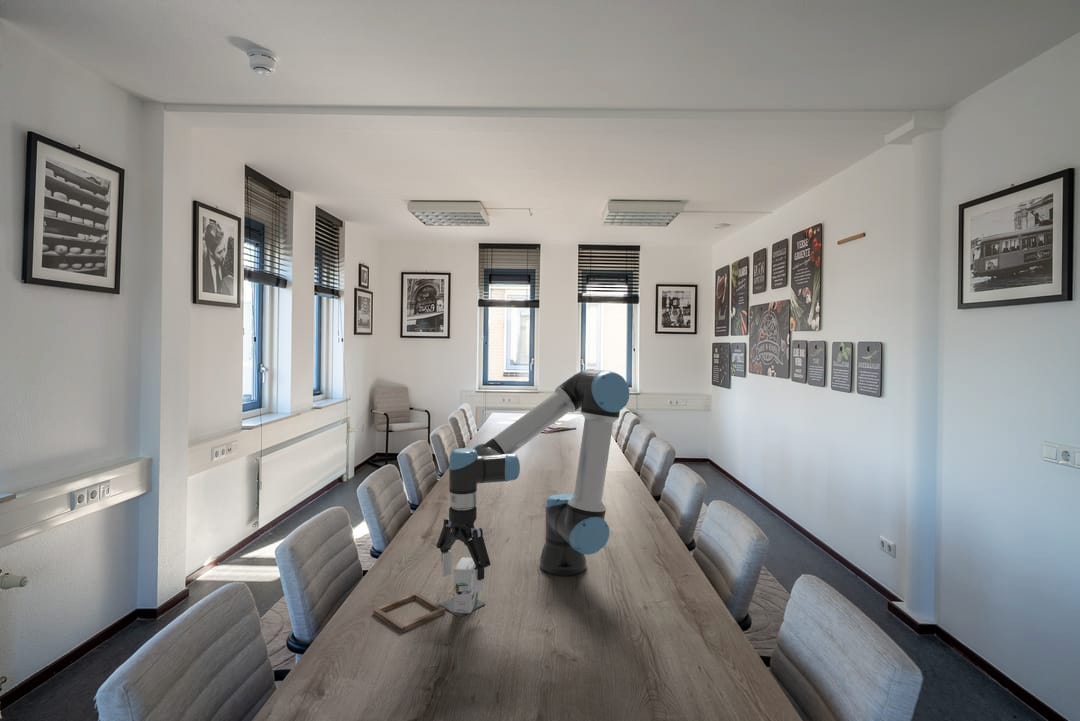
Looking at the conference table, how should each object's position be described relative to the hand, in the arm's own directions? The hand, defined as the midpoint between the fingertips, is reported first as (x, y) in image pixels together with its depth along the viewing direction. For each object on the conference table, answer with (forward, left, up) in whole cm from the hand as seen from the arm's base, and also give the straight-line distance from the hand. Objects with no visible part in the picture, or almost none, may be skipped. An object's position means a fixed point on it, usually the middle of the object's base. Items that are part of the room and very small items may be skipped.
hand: (462, 582), depth 143 cm
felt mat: (0, 0, -6) cm, 6 cm away
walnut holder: (+13, -7, -6) cm, 15 cm away
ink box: (0, +2, -6) cm, 6 cm away
